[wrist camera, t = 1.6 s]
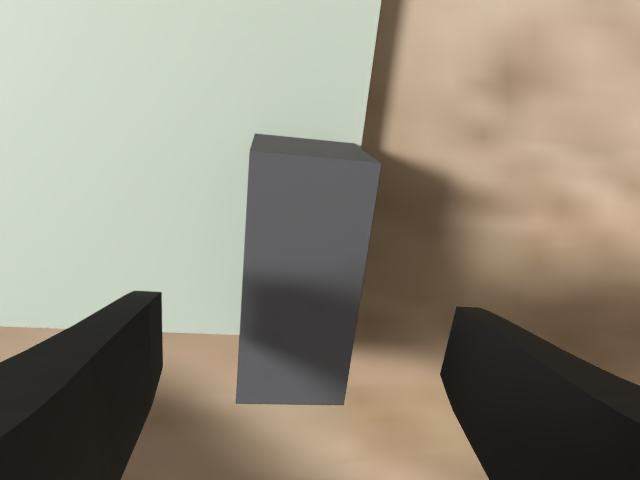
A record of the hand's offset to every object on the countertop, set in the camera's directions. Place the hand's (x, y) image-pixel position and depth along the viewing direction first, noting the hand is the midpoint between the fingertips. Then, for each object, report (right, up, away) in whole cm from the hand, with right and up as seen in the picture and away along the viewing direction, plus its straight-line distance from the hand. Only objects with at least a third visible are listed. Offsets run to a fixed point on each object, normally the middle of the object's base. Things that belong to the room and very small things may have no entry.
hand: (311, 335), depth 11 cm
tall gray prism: (-1, +2, +6) cm, 6 cm away
